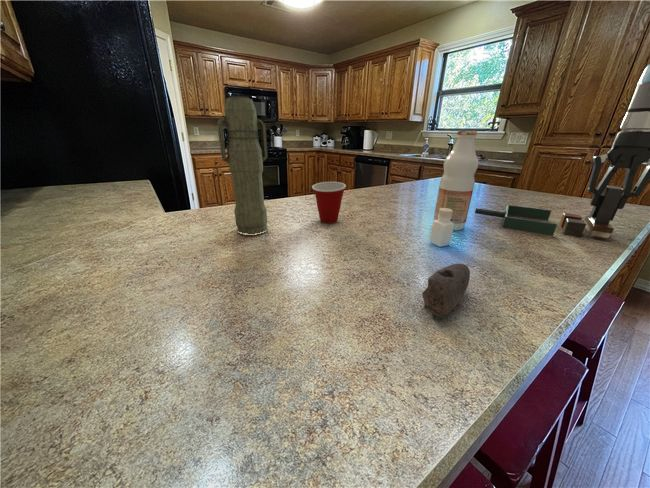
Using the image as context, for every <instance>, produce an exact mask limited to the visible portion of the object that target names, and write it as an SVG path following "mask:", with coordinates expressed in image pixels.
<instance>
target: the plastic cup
mask: <svg viewBox="0 0 650 488" xmlns="http://www.w3.org/2000/svg"><path fill="white" fill-rule="evenodd" d="M346 187H347V184H345V183H344V182H340V181H322V182H321V181H320V182H318V183H315V184H312V186H311V189H312V190H313V193H314V196H315V202H316V207H317V211H318V217H319V221H320V222H321V223H323V224H334V223H337V222H338V220H339V214H340V211H341V205H342V201H343V196H344V192H345V190H346Z"/></svg>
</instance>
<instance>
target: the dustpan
mask: <svg viewBox="0 0 650 488" xmlns="http://www.w3.org/2000/svg"><path fill="white" fill-rule="evenodd" d="M551 213H552V210H551V209H545V208H544V209H543V208H538V207H537V208H536V207H530V206H523V205H522V206H521V205H514V204H507V205H506V208H505V211H501V210H493V209H486V208H479V207H475V211H474V214H476V215H480V216H481V215H482V216H489V217H494V218H501V219H503V221H502V228H506V229H511V230H515V231H516V230H518V231H524V232H527V233H535V234H539V235H540V234H541V235H547V236H554V234H555V232H556V230H557V226H558V223H554V222H553V223H552V222H547V221H549V219H550V216H551ZM513 216H514V217H513ZM515 216H516V217H515ZM519 217H520V218H519ZM521 217H522V218H521ZM526 218H529V219H526ZM532 219H535V220H532ZM539 220H543V221H539Z"/></svg>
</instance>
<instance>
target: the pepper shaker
mask: <svg viewBox="0 0 650 488" xmlns="http://www.w3.org/2000/svg"><path fill="white" fill-rule="evenodd" d="M452 212H453V210H451V209H448V208H440V209H439V214H438V220H435V221H434V222H433V221H432V226H431V230H430V236H429V243H431V244H433V245H435V246H436V247H438V248H442V247H446V246H449V245H450V244H451V241H452V236H453V232H454V230H453V228H454V224H453V223H452V222H451V221H450V220H451V217H452Z"/></svg>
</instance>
